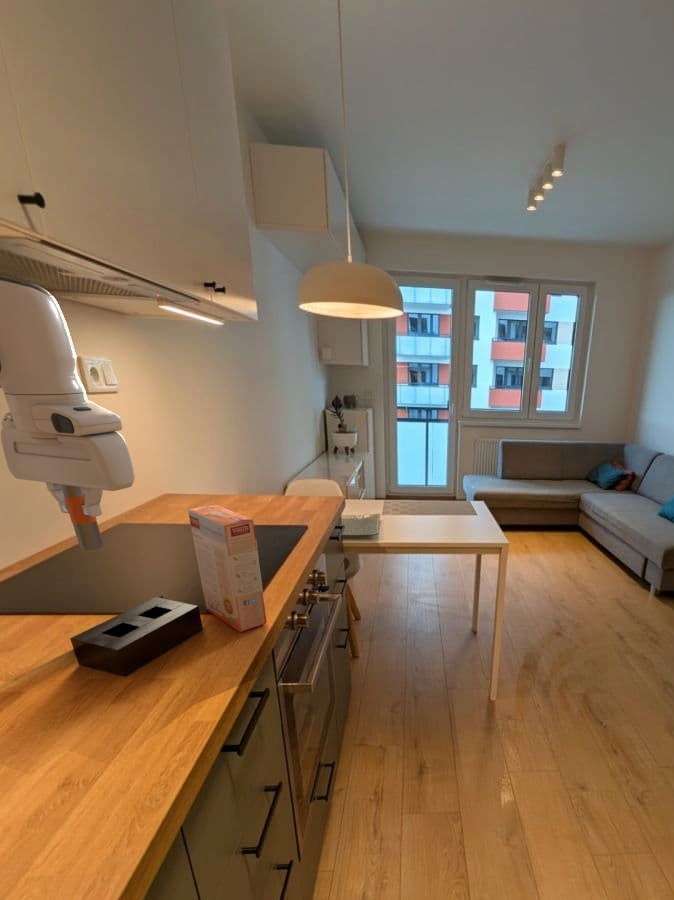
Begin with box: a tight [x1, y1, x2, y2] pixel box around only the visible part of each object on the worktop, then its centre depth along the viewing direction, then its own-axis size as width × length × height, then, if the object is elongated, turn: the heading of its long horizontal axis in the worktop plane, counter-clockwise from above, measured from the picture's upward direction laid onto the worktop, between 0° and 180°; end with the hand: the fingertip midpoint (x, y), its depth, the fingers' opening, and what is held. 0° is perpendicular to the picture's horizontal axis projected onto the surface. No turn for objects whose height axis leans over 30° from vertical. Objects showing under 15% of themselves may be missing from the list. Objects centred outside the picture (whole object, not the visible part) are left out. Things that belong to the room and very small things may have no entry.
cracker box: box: [187, 504, 268, 633], centre depth 95 cm, size 14×6×21 cm, turn 48°
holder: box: [69, 596, 204, 678], centre depth 88 cm, size 10×17×5 cm, turn 162°
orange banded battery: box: [61, 485, 104, 551], centre depth 74 cm, size 3×3×14 cm
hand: (82, 514), depth 75 cm, fingers closed on orange banded battery, 3 cm apart
